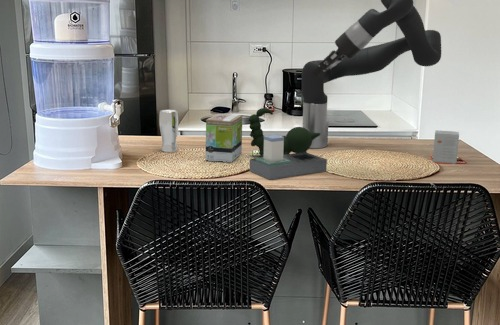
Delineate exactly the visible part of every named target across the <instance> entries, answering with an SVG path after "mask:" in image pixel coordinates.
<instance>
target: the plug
mask: <svg viewBox="0 0 500 325" xmlns="http://www.w3.org/2000/svg"><path fill="white" fill-rule="evenodd" d="M283 149H284V137H281V136H280V135H278V134H272V135H264V155H263V157H264V160H265V161H268V162H270V163H271V162H278V161H283Z"/></svg>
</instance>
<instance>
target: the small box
mask: <svg viewBox="0 0 500 325" xmlns="http://www.w3.org/2000/svg"><path fill="white" fill-rule="evenodd" d="M459 139H460V133H459V131H453V130H451V131H450V130H439V129H438V130H435V132H434V141H433V151H432V152H433V153H432V154H433V155H432V163H443V164H444V163H445V164H454V165H455V164H457V162H458V161H457V160H458V151H459V143H460V142H459V141H460V140H459Z"/></svg>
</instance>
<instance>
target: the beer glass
mask: <svg viewBox="0 0 500 325" xmlns="http://www.w3.org/2000/svg"><path fill="white" fill-rule="evenodd" d="M158 117H159V118H158V119H159V120H158V121H159V122H158V123H159V130H160V135H161V150H160V151H161V152H162V151H163V152H162V153H175V152H178V143H177V139H178V138H177V137H178V132H179V114H178V110H177V109H161V110H159V116H158Z"/></svg>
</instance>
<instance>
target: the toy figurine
mask: <svg viewBox="0 0 500 325" xmlns="http://www.w3.org/2000/svg"><path fill="white" fill-rule="evenodd" d="M265 114H270V115H271V116H272V115H273V114H274V113H273V111H272V110H271V109H270V108H267V107H261V108H259V109H257V110H256V113H254V114H251V115H250V116H249V118H248V121H249V122H250V124H249V129H250V130H251V131H250V134H249V136H250V137H251V138H252V140H251V141H250V146H251V147H256V148H257V147H258V150H259V151H258V154H259V156H264V136H265V135H264V132H263V129H262V125H261V124H262V123H261V122H260V117H263V116H264V115H265ZM319 135H320V133H312V132H309V131H308V130H307V129H305V128H303V126H296V127H293V128H291V129H290V130H288V132H287V134H286V135H282V136H281V137H284V149H283V155H286V154H292V153H301V152H306V153H308V151H309V149H311V148H310V146H311V144H312V140H313V139H315V138H316V137H318V136H319Z"/></svg>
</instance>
